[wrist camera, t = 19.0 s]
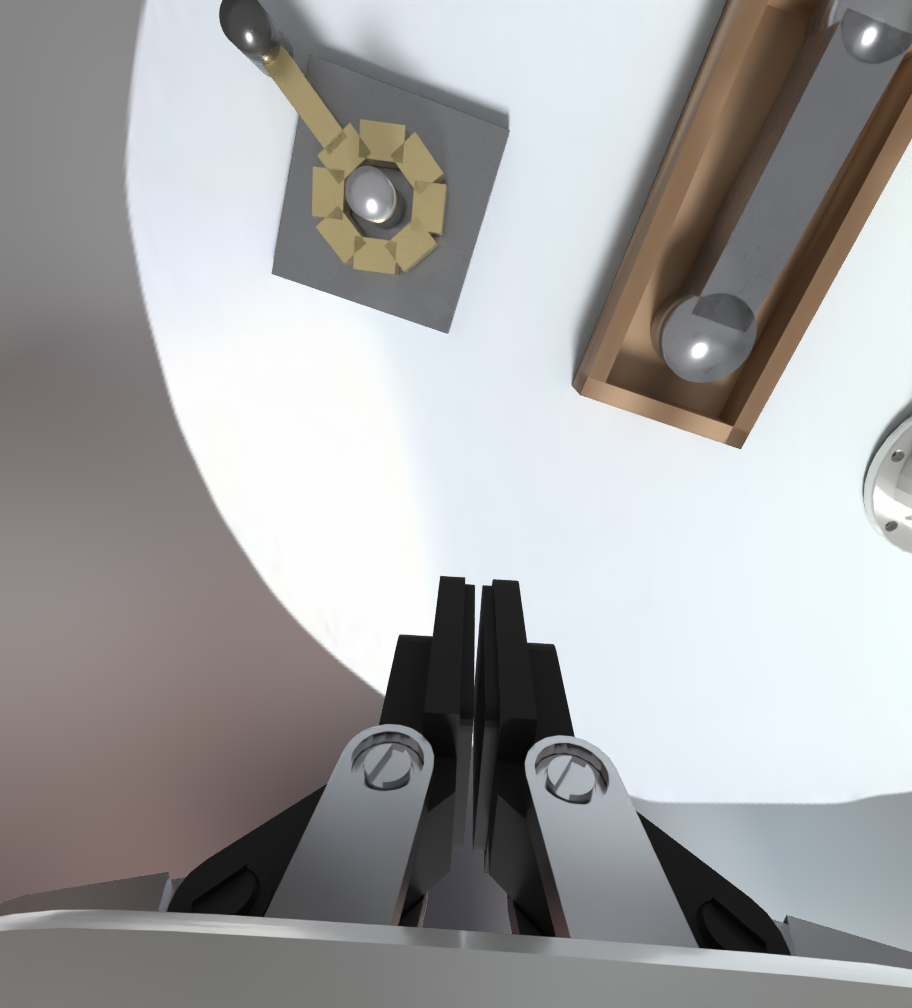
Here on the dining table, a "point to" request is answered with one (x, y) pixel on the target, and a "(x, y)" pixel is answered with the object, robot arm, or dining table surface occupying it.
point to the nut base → (390, 199)
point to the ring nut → (345, 153)
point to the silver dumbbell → (782, 183)
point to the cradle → (694, 208)
